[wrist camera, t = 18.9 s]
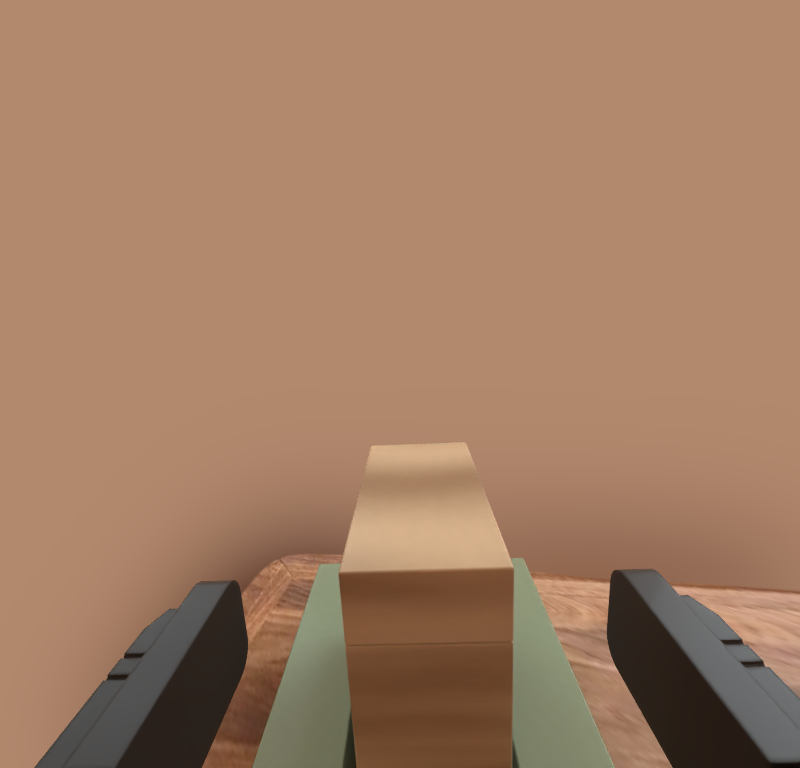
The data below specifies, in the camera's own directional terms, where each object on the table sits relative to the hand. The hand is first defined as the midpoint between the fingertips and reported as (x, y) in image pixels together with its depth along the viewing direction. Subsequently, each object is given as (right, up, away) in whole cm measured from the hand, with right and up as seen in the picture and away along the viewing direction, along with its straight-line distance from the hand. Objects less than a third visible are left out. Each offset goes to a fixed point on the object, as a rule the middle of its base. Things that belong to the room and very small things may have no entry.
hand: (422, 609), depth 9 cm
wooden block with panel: (+1, -10, +7) cm, 12 cm away
